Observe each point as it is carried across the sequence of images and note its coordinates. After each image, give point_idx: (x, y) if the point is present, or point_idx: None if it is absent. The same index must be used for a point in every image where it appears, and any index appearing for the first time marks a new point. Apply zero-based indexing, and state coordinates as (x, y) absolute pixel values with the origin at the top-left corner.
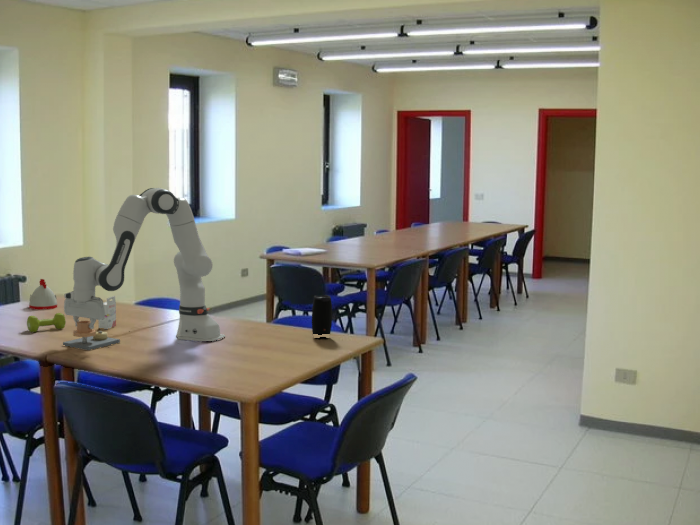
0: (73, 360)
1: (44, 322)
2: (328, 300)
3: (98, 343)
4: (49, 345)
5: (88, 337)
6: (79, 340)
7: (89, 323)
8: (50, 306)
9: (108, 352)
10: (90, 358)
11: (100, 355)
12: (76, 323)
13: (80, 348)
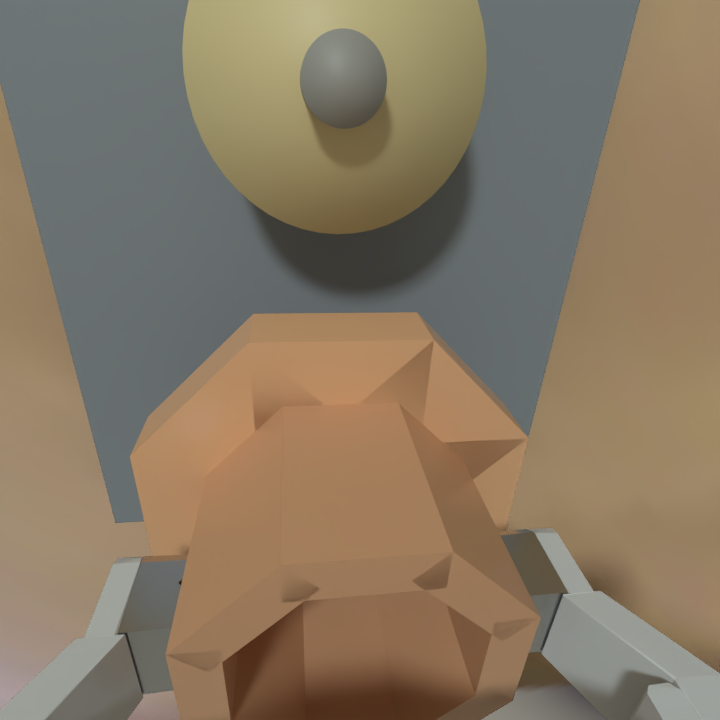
0: None
1: None
2: None
3: (510, 347)
4: (9, 550)
5: (87, 124)
6: (178, 362)
7: (516, 652)
8: None
9: (698, 428)
10: (645, 599)
11: (676, 521)
12: (151, 674)
13: None
